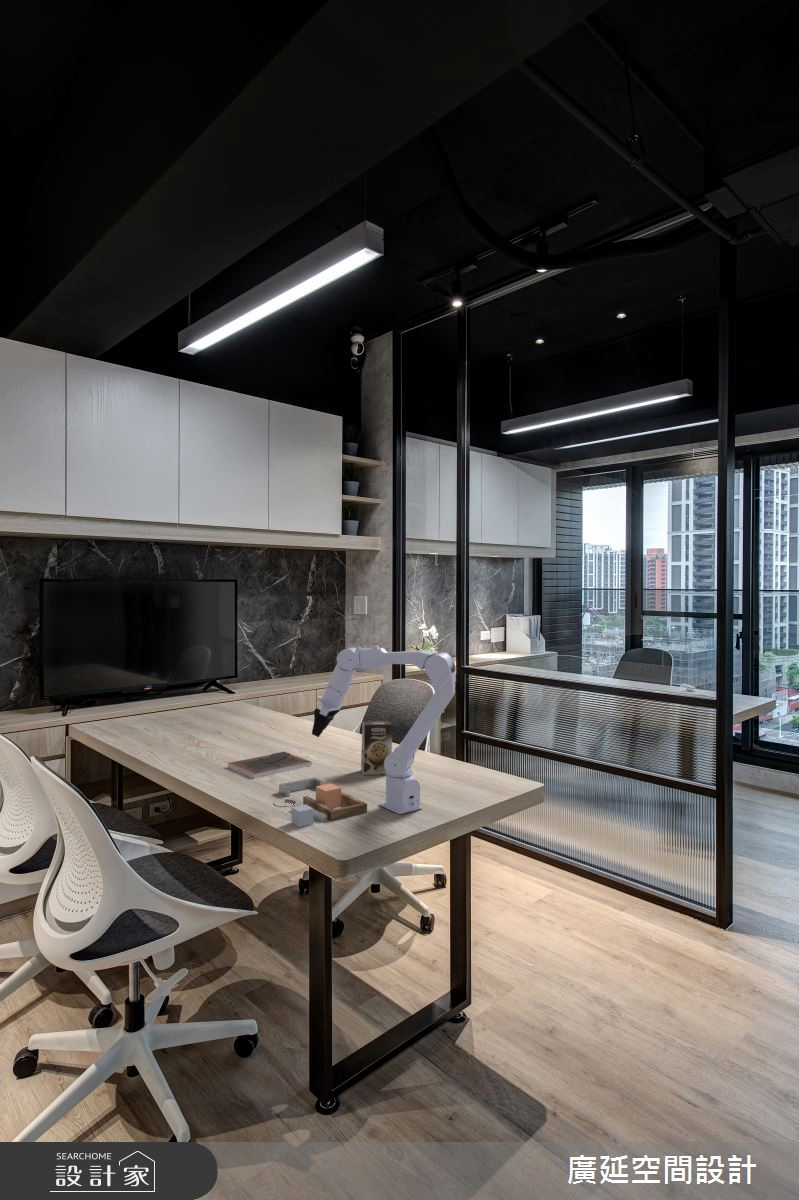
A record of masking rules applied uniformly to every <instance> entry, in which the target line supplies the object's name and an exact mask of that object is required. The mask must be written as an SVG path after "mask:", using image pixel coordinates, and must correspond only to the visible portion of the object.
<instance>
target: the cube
mask: <svg viewBox="0 0 799 1200" xmlns="http://www.w3.org/2000/svg"><path fill="white" fill-rule="evenodd" d="M341 791H342V787H341V786H337V785H336V784H333V782H332V783H327V784H323V785H321V786H316V787H315V800H316V801H318V802H320V803H321V804H323V805H325V806H327V807H329V808H331V809H334V808H338V807H341V806H342V802H341ZM333 807H334V808H333Z"/></svg>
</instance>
